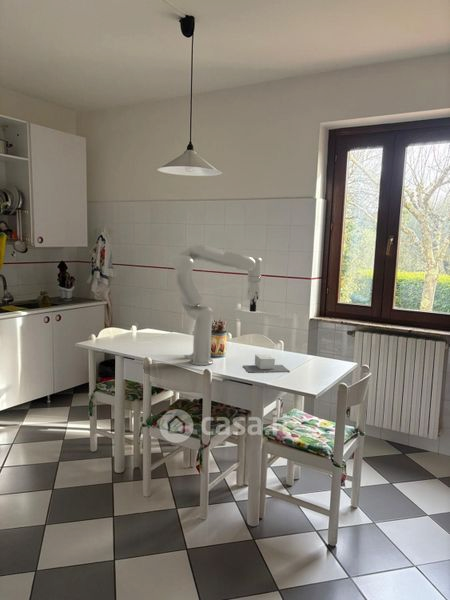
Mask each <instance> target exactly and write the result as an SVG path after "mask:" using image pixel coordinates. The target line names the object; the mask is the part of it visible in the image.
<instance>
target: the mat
mask: <svg viewBox="0 0 450 600" xmlns="http://www.w3.org/2000/svg"><path fill="white" fill-rule="evenodd" d="M242 367H243V368H244V370H246V372H247V371H248V372H247V373H248V374H253V373H254V374H255V373H256V374H257V373H260V374H261V373H262V374H263V373H264V372H265V373H290V372H291V370H289V369H288V368H287V367H286V366H284V365H283V364H275V365H274V369H260V368H258V367H257V366H256V365H255V364H254V365H252V364H251V365H247V364H246V365H245V364H244V365H243V364H242Z"/></svg>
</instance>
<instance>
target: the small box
mask: <svg viewBox="0 0 450 600" xmlns="http://www.w3.org/2000/svg"><path fill="white" fill-rule="evenodd" d="M254 355H255V356H254V365H256V366H257V367H258V368H260V369H274V365H276V364H275V362H276V359H275V357H274V356H272V355H270V354H269V353H267V354H266V353H261V354H259V353H257V354H254Z"/></svg>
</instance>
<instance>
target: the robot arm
mask: <svg viewBox="0 0 450 600" xmlns="http://www.w3.org/2000/svg"><path fill="white" fill-rule="evenodd" d="M197 261H201V262H205V263H209V264H214V265H216V266H221V267H229V268H235V269H237V270H239V271H244V272H245V271H247V291H246V298H247V299H248V300H249V311H250V312H251V313H252V312H257V302H258V300H259V299H260V283H261V282H262V269H263V267H262V265H263V264H262V263H263V260H262V258H261V257H256V256H255V257H254V256H253V257H252V256H247V255H243V254H240V253H236V252H232V251H229V250H224V249H220V248H217V247H214V246H209V245H206V244H193V245H192V246H189V247H188V248H186V249H185V250H183V251H181V252H179V253H178V254H177V253H176V254H175V256H174V257H173V258H172V259H171V266H172V268H173V269H174V270H175V271H176V272H175V283H176V285H177V287H178V289H179V292H178V300H179V302H180V304H181V305H182V307H183V308H184V310H185V312H186V313H187V315H188V316H189V318H191V320H194V321H195V323H194V327H193V341H192V342H193V344H192V346H193V347H192V349H193V350H192V353H191V354H185V355H183V357H184V359H185V360H189V363H190V364H192V365H197V366H208V365H209V366H210V365H213V364H214V360H213V359H212V358H211V352H212V351H211V348H212V328H213V327H212V325H213V322H214V311H213V308H211V307H210V306H209V305H206V304H203V303H202V302H203V295H202V293H201V291H200V290H199V289H198V286H197V285H196V283H195V281H194V279H193V275H192V274H193V270H194V267H195V262H197Z"/></svg>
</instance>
